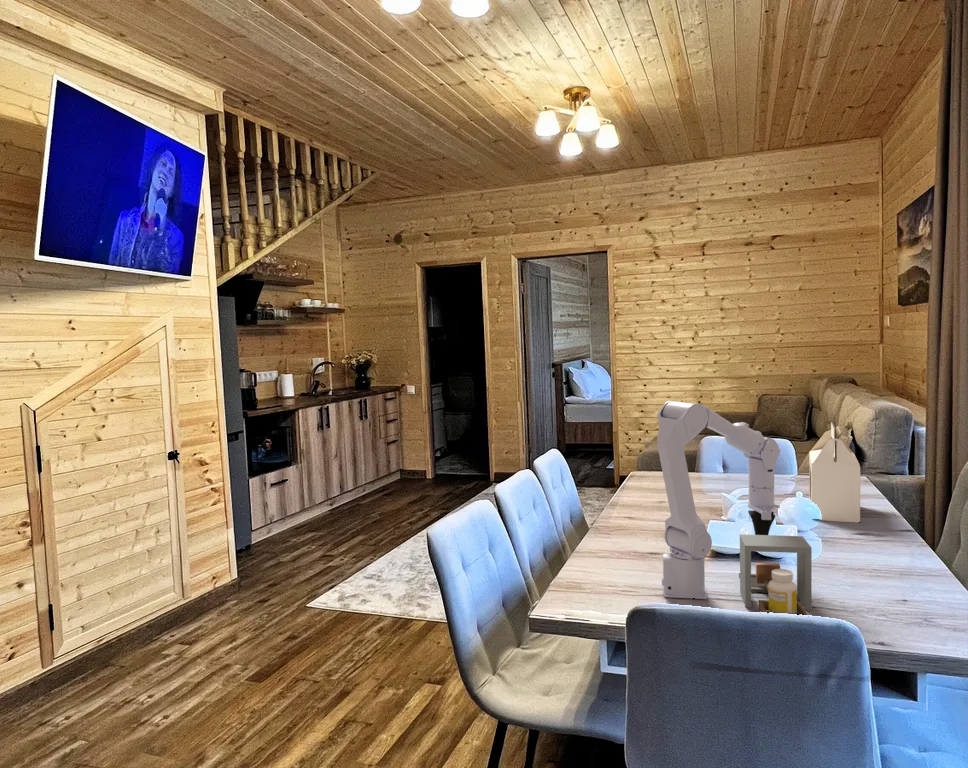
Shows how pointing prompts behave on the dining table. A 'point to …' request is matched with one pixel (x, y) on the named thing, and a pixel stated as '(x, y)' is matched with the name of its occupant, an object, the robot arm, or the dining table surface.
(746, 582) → the tunnel
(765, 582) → the sled
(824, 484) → the gable box
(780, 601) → the supplement bottle
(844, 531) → the dining table surface
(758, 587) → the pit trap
